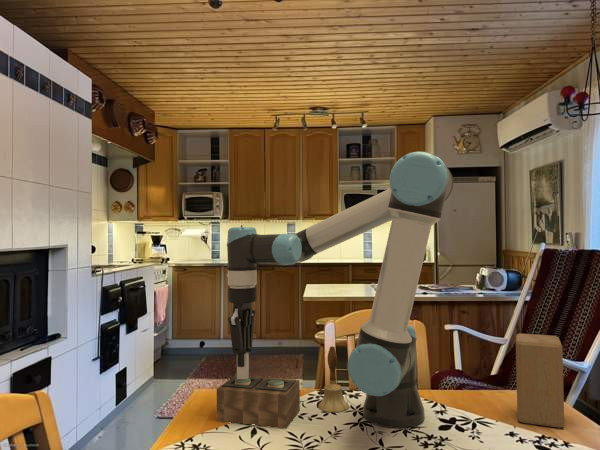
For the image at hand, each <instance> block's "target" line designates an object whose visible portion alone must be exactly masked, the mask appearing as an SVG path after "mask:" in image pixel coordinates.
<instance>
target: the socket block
mask: <svg viewBox="0 0 600 450" xmlns="http://www.w3.org/2000/svg"><path fill="white" fill-rule="evenodd" d="M249 378H250V379H251V383H250V384H249V385H239V384H235V379H237V374H236V375H234V376H233V377H232V378H229V379H228V380H227V381H225V382H224V383H223V384H222V385H220V386H219V387H218V388H216V422H217V421H220V422H219V423H225V422H231V423H230V424H234V423H243V424H242V425H244V424H255V425H263V426H270V427H269V428H273V427H278V428H277V429H283V428H287V429H288V427H289V426H290V425H289V424H291V423H292V422H293V421H294V419H295V418H296V416H297V415H298V414H299V412H300V411H301V408H300V407H301V405H300V403H301V398H300V397H301V396H300V395H301V394H300V393H301V392H300V387H301V386H300V384H301V383H300V379H290V378H280V377H279V378H277V377H264V376H252V375H251V376H250V375H249ZM271 380H282V381H284V387H283V388H277V387H268V382H269V381H271ZM263 426H262V427H263Z"/></svg>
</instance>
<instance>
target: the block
mask: <svg viewBox="0 0 600 450" xmlns="http://www.w3.org/2000/svg"><path fill="white" fill-rule="evenodd" d="M563 353H564V352H563V345H562V342H561V340H560V338H559V336H556V335H548V334H533V333H517V334H516V335H515V364H516V365H515V367H516V368H515V371H516V373H515V374H516V375H515V376H516V377H515V378H516V407H517V408H516V409H517V410H516V413H517V414H516V415H517V416H516V417H517V420H518V421H519V422H521V423H523V424H528V425H538V426H543V427H551V428H557V429H558V428H559V429H561V428H564V426H565V396H564V395H565V393H564V361H563V360H564V357H563V355H564V354H563Z"/></svg>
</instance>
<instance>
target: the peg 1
mask: <svg viewBox="0 0 600 450" xmlns="http://www.w3.org/2000/svg"><path fill="white" fill-rule="evenodd" d="M250 383H251V379H250V378H248V379H247V380H245V379H235V384H239V385H249V384H250Z"/></svg>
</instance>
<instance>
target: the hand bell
mask: <svg viewBox="0 0 600 450" xmlns="http://www.w3.org/2000/svg"><path fill="white" fill-rule="evenodd" d="M327 365H328V368H329V383H328V384H326V385H325V387H324V393H323V396H322V399H321V400H320V402H319V403H318V406H317V407H318V409H319V410H321V411H323V412H325V413H342V412H345V411H347V410H349V409H350V405H349V403H348V402H347V401H346V400H345V397H344V395H343V390H342V389H343V388H342V386H341V385H340V384H337V378H336V377H337V374H336V369H337V365H338V354H337V352H336V348H335V346H330V347H329V349H328V353H327Z"/></svg>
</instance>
